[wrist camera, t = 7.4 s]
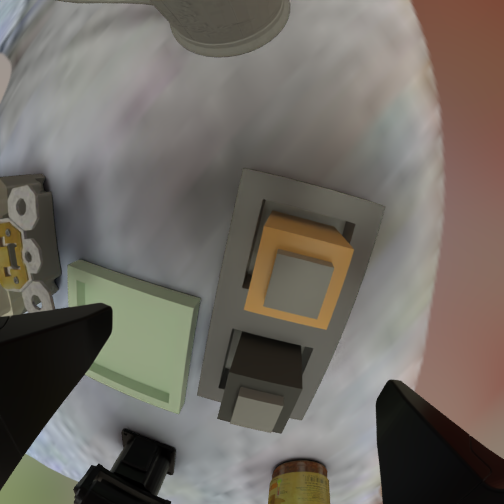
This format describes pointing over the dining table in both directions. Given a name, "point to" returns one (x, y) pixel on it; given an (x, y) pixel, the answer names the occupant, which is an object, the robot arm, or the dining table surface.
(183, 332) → the tray
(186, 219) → the dining table surface
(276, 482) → the sauce bottle
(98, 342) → the robot arm
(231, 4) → the grey pitcher
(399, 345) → the dining table surface
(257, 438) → the dining table surface
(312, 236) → the plug
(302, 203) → the power strip
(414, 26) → the dining table surface
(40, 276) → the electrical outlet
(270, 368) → the twin plug
